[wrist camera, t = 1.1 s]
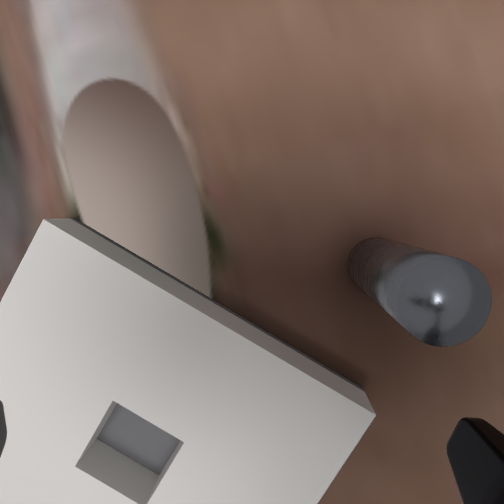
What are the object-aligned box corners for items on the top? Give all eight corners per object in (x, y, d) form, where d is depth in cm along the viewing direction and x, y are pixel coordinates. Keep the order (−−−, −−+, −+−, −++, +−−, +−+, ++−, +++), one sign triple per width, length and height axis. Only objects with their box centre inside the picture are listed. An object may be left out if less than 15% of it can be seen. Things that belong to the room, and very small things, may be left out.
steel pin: (412, 255, 21) (510, 286, 13) (383, 300, 22) (457, 363, 13) (366, 227, 21) (430, 239, 13) (337, 273, 22) (379, 317, 13)
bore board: (362, 387, 22) (375, 415, 19) (215, 612, 24) (207, 669, 21) (74, 217, 22) (43, 219, 19) (-52, 455, 24) (-98, 490, 21)
